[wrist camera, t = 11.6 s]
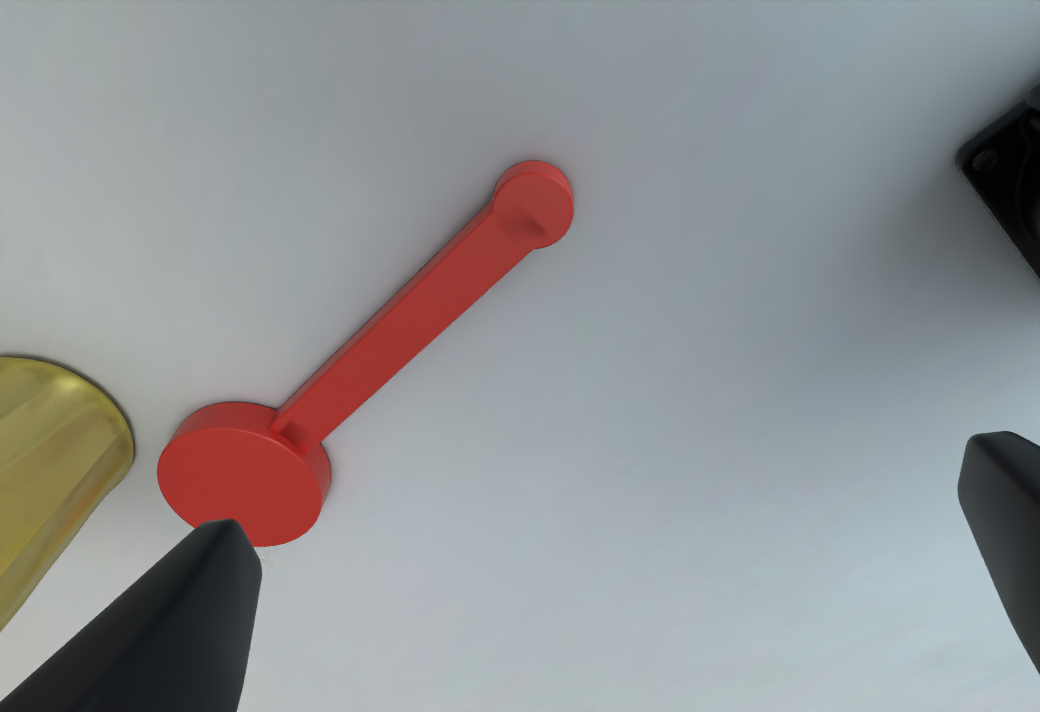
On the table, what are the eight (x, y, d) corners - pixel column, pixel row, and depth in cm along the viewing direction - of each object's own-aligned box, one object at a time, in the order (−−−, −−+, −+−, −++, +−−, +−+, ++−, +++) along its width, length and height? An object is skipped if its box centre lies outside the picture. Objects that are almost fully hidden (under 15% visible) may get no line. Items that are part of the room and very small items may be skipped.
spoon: (629, 239, 21) (634, 260, 20) (275, 540, 29) (263, 569, 28) (486, 96, 19) (482, 111, 18) (145, 462, 27) (126, 489, 25)
